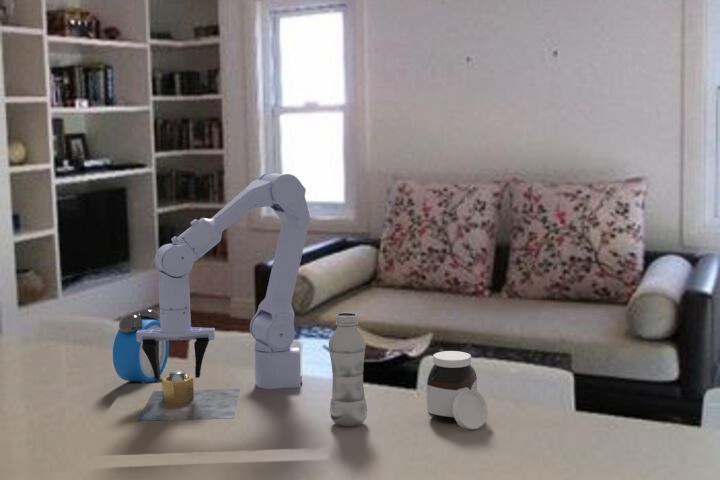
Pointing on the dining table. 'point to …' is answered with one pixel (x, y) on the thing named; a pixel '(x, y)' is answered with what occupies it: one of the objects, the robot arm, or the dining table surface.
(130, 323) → the alarm clock
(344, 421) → the plastic bottle
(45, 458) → the dining table surface
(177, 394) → the wooden octagonal tube
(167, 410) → the plate
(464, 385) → the spread jar
